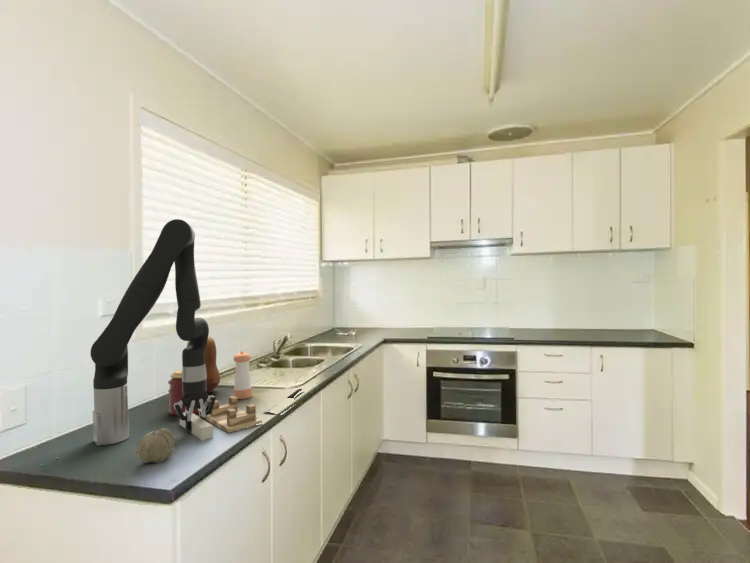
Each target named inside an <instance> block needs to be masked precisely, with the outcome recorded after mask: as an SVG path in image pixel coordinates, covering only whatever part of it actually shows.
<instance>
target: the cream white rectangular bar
mask: <svg viewBox="0 0 750 563" xmlns="http://www.w3.org/2000/svg"><path fill="white" fill-rule="evenodd" d="M183 414H184V416H185V412H184V413H183ZM191 425H192V432H190V433H191V434H192V435H193V436H194V437H196V438H197V439H199V440H201V441H202V440H203V441H205V439H206V440H210V439H213V438H214V424H212V423H211V422H209V421H207V420H206V421H205V420H203V419H201V418H200V416H199V415H197V414H192V416H191ZM179 426H181V427H183V429H185V430H186V428H185V421H182V420H181V419H179ZM212 437H213V438H212ZM209 438H210V439H209Z"/></svg>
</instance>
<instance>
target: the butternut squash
mask: <svg viewBox="0 0 750 563" xmlns="http://www.w3.org/2000/svg"><path fill="white" fill-rule="evenodd" d="M188 345H189V341H187V344H186V347H187V346H188ZM205 367H206V374H207V377H206V381H207V394H208V395H209V394H210V393H212V392H213V391H214V390H215V389H216V388H217V387H218V385H219V384H220V383H221V374H220V371H219V369H218V366H217V346H216V341H215V339H214V338H213V337H212V336H209V335H208V340H207V345H206V349H205Z"/></svg>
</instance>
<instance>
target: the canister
mask: <svg viewBox="0 0 750 563" xmlns="http://www.w3.org/2000/svg"><path fill="white" fill-rule="evenodd" d="M170 377H171V378H170V380H168V382H167V383H168V385H169V389H168V411H169V414H171V415H172V416H176V417H178V415H177V413H176V411H175V409H174V407H173V404H174V403H178V402H179V401H181V399H182V396H183V395H182V368H181V369H177V370H174V372H173V373H171V374H170ZM206 402H207V401H206ZM206 402H205V403H204V407H205V408H206V407H207V404H206ZM185 409H186V406H185V405H184V404H182V408H181V410H182V412H183V413H184V412H185ZM193 414H195V415H197V414H199V410H198V409H195V410H193Z"/></svg>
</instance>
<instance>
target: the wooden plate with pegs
mask: <svg viewBox="0 0 750 563" xmlns="http://www.w3.org/2000/svg"><path fill="white" fill-rule="evenodd" d="M238 403H239V402H238V399H237V397H235V396H234V395H231V396H228V403H227V404H226V403H225V404H221V405H220V401H219V400H217V399H216V400H215V403H214V406H213V409H212V412H211V414H209V415H207V416H206V422H208V423H210V424H211V425H213V426H216V427H217V428H219V429H221V430H222V429H223V431H224V432H225V431H226V433H227V432H228V433H227V434H230V433H229V432H232V433H234V432H233V431H236V432H238V431H237V430H239V431H241V430H240V429H243V428H247V427H250V428H252V427H251V426H253V425H256V424H259V423H262V424H263V420H262V419H260V418H258V417H256V416H257V415H256V413H257V411H256V405H255V404H253V403H250V404H246V405H245V410H246V411H245V410H243V409H241V408H238V407H239V406H238ZM247 429H248V428H247ZM243 430H244V429H243Z"/></svg>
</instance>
